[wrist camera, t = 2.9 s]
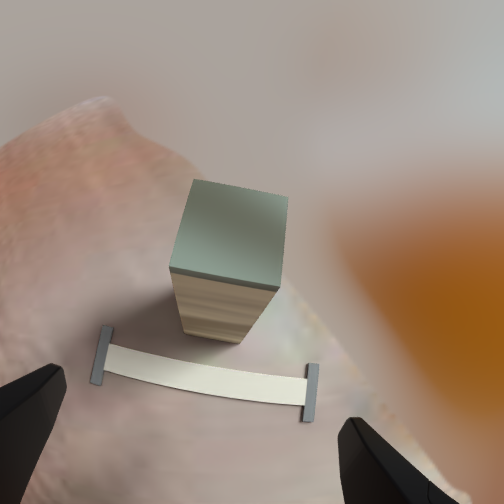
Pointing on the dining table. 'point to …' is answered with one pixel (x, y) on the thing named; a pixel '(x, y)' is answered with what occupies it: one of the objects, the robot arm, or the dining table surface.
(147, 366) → the tape line
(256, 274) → the beige tall block
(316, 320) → the dining table surface
